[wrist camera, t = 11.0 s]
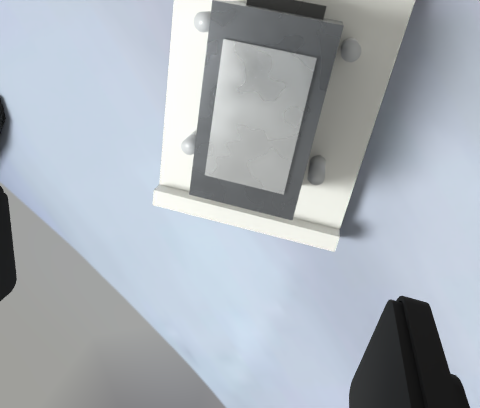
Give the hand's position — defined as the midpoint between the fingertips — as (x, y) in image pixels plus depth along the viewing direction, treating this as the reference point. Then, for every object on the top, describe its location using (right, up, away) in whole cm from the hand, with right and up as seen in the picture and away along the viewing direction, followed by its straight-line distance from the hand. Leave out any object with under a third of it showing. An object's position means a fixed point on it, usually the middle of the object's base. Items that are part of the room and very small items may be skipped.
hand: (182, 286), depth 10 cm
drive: (+3, +8, +15) cm, 17 cm away
